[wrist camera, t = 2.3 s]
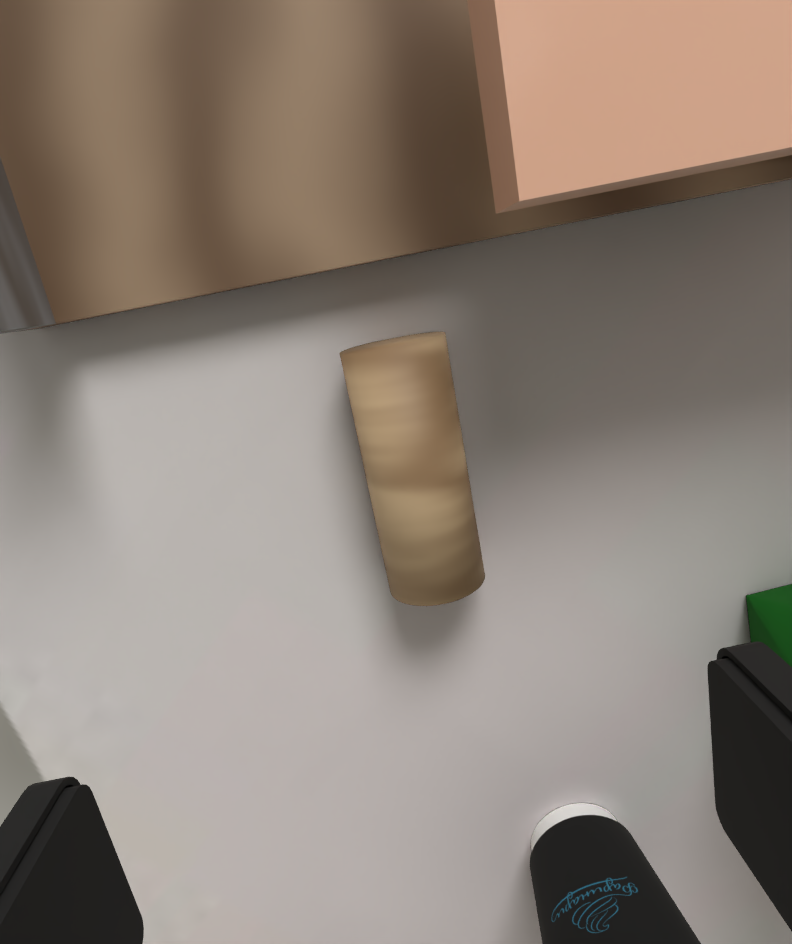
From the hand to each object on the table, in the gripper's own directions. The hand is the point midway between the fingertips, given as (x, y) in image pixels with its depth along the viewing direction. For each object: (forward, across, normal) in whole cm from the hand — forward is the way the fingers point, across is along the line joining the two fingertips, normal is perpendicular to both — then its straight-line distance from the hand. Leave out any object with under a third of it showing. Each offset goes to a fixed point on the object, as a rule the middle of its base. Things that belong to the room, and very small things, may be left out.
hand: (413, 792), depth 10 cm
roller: (+18, 0, 0) cm, 18 cm away
